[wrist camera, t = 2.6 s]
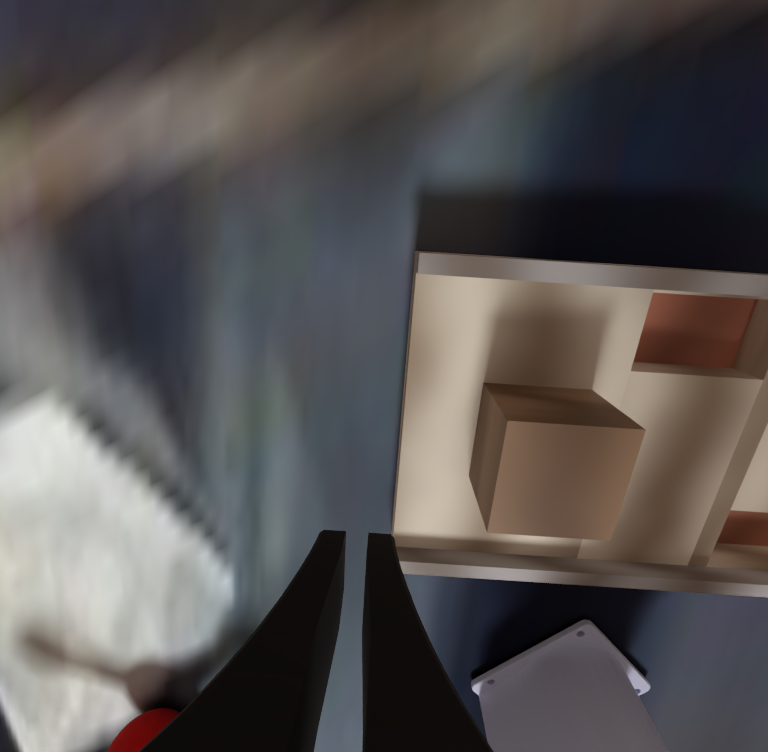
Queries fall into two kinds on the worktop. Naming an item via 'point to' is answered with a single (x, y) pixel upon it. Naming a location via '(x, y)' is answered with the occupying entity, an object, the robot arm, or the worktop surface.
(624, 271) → the board
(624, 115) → the worktop surface
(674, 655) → the worktop surface
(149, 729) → the molecular model
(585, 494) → the walnut block
